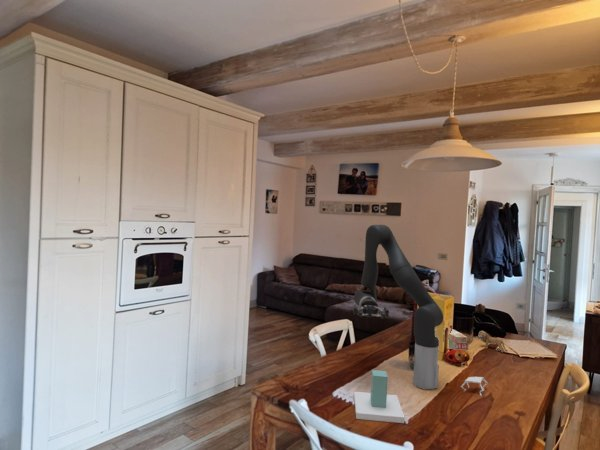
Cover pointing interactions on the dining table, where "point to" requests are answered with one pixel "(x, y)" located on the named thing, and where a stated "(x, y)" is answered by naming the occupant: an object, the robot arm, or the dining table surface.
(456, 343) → the white printed carton
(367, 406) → the white board
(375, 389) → the teal block
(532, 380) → the dining table surface
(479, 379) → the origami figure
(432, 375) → the robot arm
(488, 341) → the lion figurine
